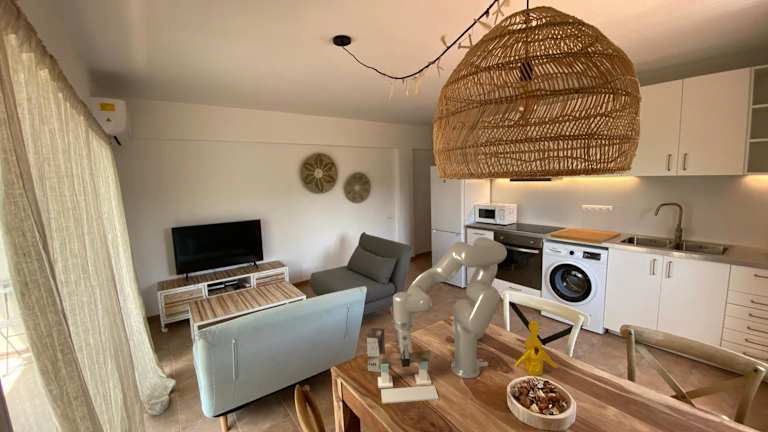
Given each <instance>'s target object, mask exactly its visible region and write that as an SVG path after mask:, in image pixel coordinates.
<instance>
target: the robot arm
mask: <svg viewBox="0 0 768 432" xmlns="http://www.w3.org/2000/svg"><path fill="white" fill-rule="evenodd" d="M507 255H508V252H507V248H506V247H505V245H504V244H502V243H501V242H498V241H496V240H493V239H491V238H489V237H485V236H479V237H477V238H476V239H475V240H474V242H473V244H472V245H471V244H469V243H467V242H463V241H456V242H455V243H453V244H452V245H451V247H449V248H448V250H447V251H446V252H445V253H444V255H442V257H441V258H440V260H438V262H437V263H435V265H434V266H433V267H431V268H429V269H427V270H426V271H424V272H422V273H421V274H420V275H418V276H417V277H416V278H415V280H414V281H412V282H411V284H410V286H409V287H408V289H407V291H399V292H397V293H395V294H394V295H393V296H392V308H393V310H392V311H393V325H394V326H393V327H394V329H396V331H397V341H398V347H399V351H400V352H399V353H402V364H401V367H402V368H408V367H411V366H410V365H411V363H410V359H409V352H410V353H412V352H414V351H413V342H412V341H413V340H412V331H411V330H412V328H413V313H425V312H428V311H429V310H431V308H432V307H433V300H432V297H431V296H430V295H429V294H428V293H427V291H428V289H430V288H431V286H433V285H435V284H437V283H441V282H442V283H443V282H449V281H452V280H453V278H454V277H455V275H457V273H458V272H459V271H460V270H461V268H462V267H466V268H469V269H470V268H471V269H472V268H473V269H475V270H474V272H473V273H472V276H471V277H470V280H469V282H468V283H467V286H466V289H465V292H466V293H465V294H466V295H467V297H468V298H470V299H471V301H473V302H474V303H475V304H474V303H473V302H471V301H470V300H468V299H460V300H457V301H456V302H455V303H454V305H453V308H452V317H453V321H454V325H455V333H454V360H453V361H452V362H451V364H450V370H451V372H452V373H453V374H454V375H456V376H458V377H460V378H463V379H474V378H477V377H478V376H479V375H480V374H481V368H482V367H489V364H488V361H484V360H483V358H479V359H478V339H477V334H481V333H483V332H484V331H485V332H486V331H487V329H488V327H489V325H490V324H491V322H492V319H493V318H494V316H495V314H496V312H497V309H498V307H499V305H500V302H501V301H500V300H501V296H500V293H499V290H498V289H497V288H496V287H495V286H493V283H494V281H495V278H496V276H497V272H498V264H501V263H502V262H503V261H505V259H506V257H507ZM403 353H405V355H403Z"/></svg>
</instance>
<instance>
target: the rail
mask: <svg viewBox="0 0 768 432" xmlns="http://www.w3.org/2000/svg"><path fill="white" fill-rule="evenodd" d="M403 355H405V353H403ZM409 359H410V364H414V363H420V362H423V361H427V362H432V352H431V350H430V349H428V350H417V351H413V352H412V353H410V352H409ZM381 364H389V366H392V365H402V353H400V352H395V353H385V354H381V355H379V365H380V366H381Z"/></svg>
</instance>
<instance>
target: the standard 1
mask: <svg viewBox="0 0 768 432" xmlns="http://www.w3.org/2000/svg"><path fill="white" fill-rule="evenodd" d="M389 366H390V365H389V364H381V372H380V373H381V375H380V376H378V377H377V386H378V387H377V388H378V389H391V388H394V383H393V376H392V375H390V374H389V372H390V370H389V369H390V368H389Z"/></svg>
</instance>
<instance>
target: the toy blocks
mask: <svg viewBox="0 0 768 432" xmlns="http://www.w3.org/2000/svg"><path fill="white" fill-rule="evenodd" d="M428 362H429V361H423V362H418V373H417V374H414V379H415V382H416V387H419V386H432V380H431V377H430V374H429V373H428V366H429V365H428Z"/></svg>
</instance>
